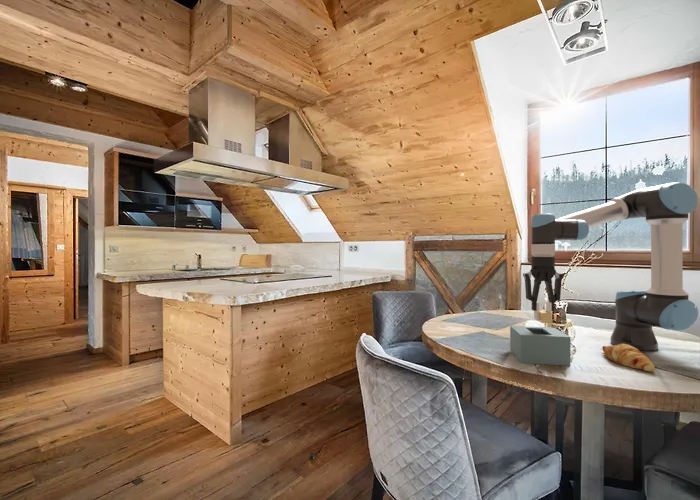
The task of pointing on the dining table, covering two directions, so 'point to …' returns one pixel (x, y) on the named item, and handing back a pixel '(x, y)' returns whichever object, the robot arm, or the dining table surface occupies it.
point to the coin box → (540, 345)
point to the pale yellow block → (545, 316)
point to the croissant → (628, 357)
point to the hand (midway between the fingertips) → (542, 319)
